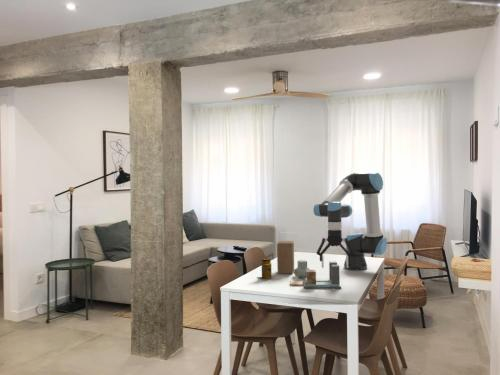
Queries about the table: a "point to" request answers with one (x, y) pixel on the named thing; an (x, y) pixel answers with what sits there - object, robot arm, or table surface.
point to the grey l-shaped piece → (334, 278)
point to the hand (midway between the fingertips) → (334, 267)
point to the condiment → (266, 269)
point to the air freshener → (301, 269)
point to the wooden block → (285, 257)
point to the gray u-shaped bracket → (329, 274)
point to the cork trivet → (296, 283)
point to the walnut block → (311, 276)
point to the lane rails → (320, 286)
